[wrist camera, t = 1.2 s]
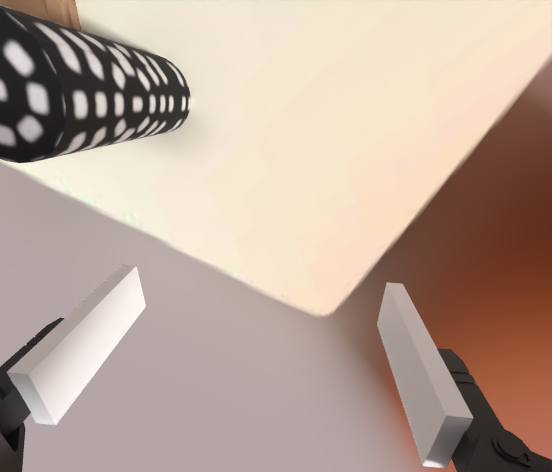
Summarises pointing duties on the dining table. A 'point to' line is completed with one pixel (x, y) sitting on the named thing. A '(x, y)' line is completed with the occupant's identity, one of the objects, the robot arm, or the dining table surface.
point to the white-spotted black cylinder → (79, 90)
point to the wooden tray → (48, 10)
